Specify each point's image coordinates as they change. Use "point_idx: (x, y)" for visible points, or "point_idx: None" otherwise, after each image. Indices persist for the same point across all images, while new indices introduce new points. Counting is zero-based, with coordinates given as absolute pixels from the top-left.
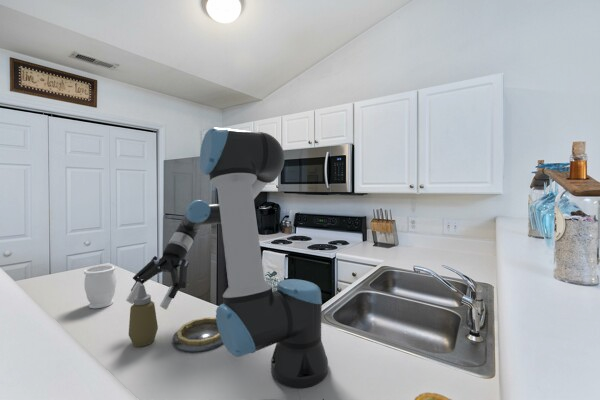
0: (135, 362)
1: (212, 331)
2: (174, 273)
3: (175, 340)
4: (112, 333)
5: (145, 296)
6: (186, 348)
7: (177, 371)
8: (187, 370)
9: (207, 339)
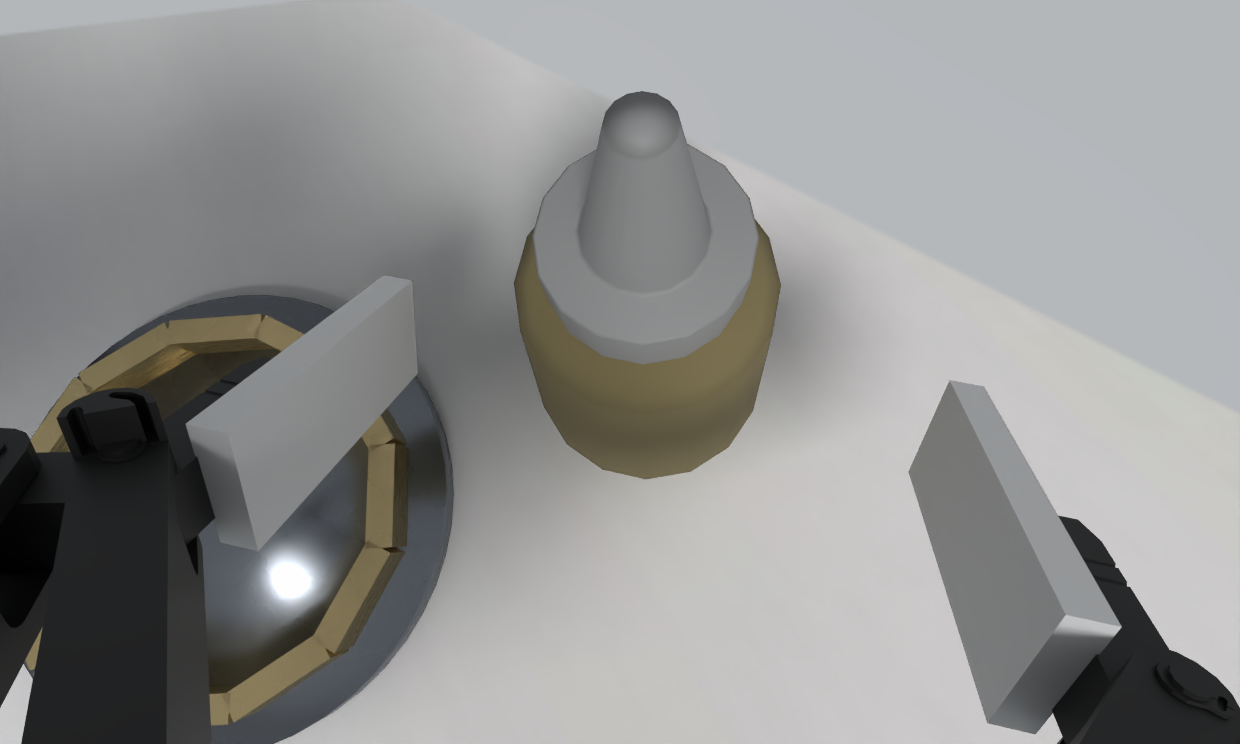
0: None
1: None
2: (29, 708)
3: None
4: None
5: (581, 216)
6: (278, 302)
7: (274, 142)
8: (223, 155)
9: (119, 352)
